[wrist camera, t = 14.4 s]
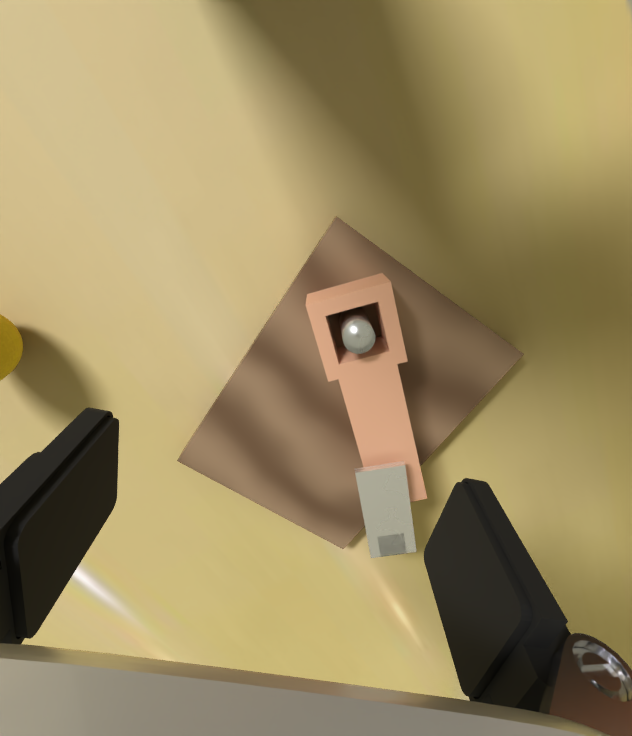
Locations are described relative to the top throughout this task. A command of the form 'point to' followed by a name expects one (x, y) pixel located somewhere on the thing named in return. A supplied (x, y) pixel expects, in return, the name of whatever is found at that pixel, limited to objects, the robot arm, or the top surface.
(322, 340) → the link
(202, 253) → the top surface
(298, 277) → the walnut plate
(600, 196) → the top surface
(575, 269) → the top surface
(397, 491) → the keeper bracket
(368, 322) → the cylinder
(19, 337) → the lemon
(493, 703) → the robot arm
